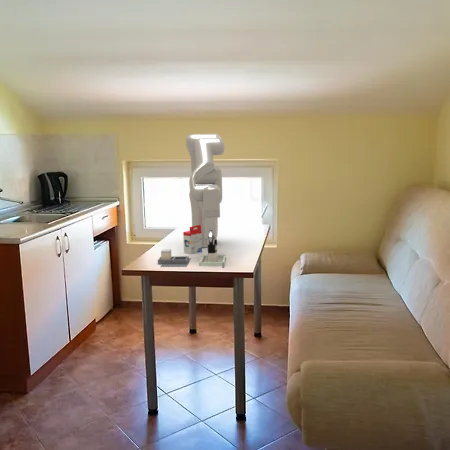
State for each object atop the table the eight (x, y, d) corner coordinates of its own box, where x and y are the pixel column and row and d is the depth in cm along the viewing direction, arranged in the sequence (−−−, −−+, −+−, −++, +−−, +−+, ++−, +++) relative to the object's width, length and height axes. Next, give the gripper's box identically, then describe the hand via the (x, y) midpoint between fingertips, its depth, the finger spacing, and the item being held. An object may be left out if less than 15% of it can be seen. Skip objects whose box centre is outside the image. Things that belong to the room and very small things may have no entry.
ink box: (195, 251, 254) (194, 223, 251) (202, 252, 251) (201, 224, 248) (183, 254, 247) (182, 226, 245) (190, 256, 244) (189, 227, 242)
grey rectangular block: (209, 261, 231) (208, 244, 229) (217, 261, 230) (217, 244, 229) (208, 263, 227) (207, 246, 225) (216, 263, 226) (216, 246, 225)
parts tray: (202, 260, 236) (202, 255, 235) (225, 260, 235) (225, 254, 234) (199, 267, 222) (199, 262, 221) (223, 267, 221) (223, 262, 221)
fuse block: (162, 260, 237) (162, 246, 236) (191, 260, 236) (191, 246, 235) (155, 269, 221) (155, 254, 220) (186, 269, 220) (186, 254, 219)
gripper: (205, 211, 233) (206, 246, 236) (201, 217, 216) (202, 255, 219) (221, 210, 232) (222, 246, 235) (218, 216, 215) (219, 255, 218)
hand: (212, 250), depth 227 cm, fingers open, 9 cm apart
